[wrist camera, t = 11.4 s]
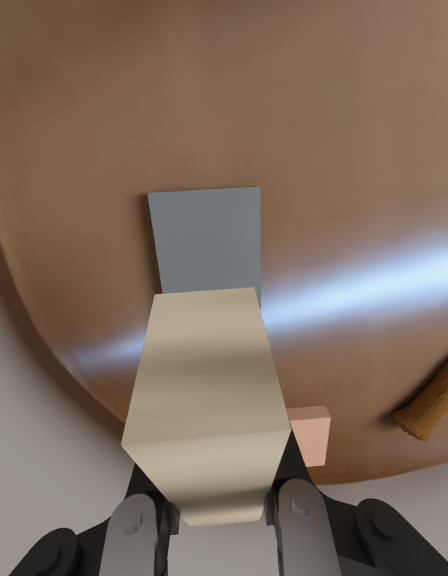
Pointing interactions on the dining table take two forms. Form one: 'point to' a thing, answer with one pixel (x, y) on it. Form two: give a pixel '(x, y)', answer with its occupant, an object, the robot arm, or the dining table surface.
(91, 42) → the dining table surface
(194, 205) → the plate
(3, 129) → the dining table surface
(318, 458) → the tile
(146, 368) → the beige stepped block
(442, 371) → the primitive tool
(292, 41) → the dining table surface
